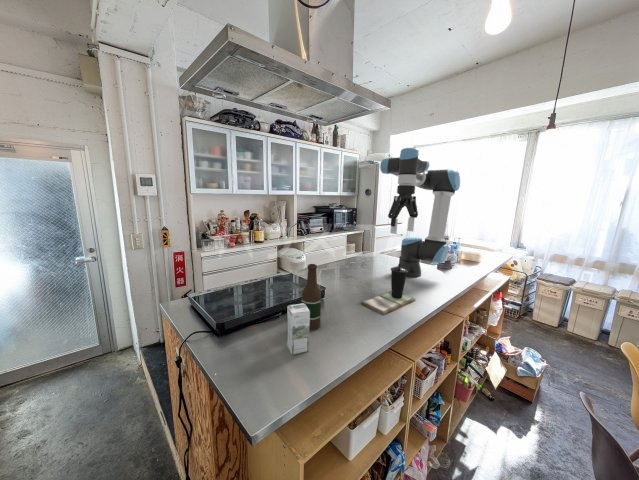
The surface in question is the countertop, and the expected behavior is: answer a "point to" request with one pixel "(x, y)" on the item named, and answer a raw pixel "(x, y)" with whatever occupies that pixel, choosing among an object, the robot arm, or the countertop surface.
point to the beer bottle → (312, 297)
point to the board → (387, 302)
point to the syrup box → (298, 328)
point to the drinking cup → (398, 280)
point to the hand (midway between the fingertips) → (402, 232)
